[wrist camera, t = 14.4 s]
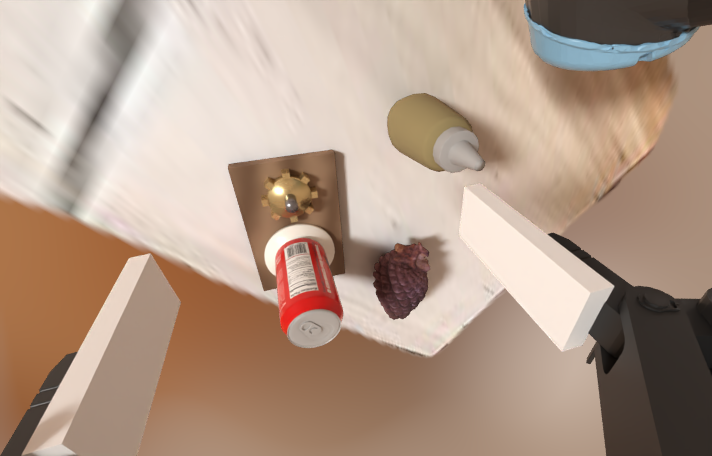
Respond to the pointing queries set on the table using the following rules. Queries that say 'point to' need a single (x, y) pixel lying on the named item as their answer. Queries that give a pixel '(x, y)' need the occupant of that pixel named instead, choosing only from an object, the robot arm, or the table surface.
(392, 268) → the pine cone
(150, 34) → the table surface
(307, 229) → the ceramic plate
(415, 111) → the squeeze bottle
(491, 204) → the robot arm
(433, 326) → the table surface
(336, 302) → the soda can
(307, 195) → the brass gear
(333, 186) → the gear board
